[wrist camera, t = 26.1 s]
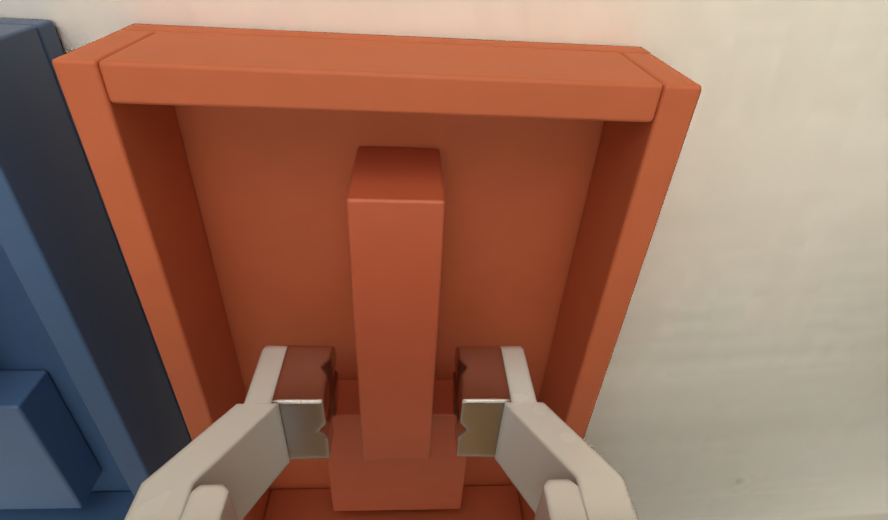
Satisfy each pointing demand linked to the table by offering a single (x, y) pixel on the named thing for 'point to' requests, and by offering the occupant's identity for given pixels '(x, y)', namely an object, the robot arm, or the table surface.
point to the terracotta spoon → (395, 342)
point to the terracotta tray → (325, 216)
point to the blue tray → (73, 285)
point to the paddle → (41, 446)
